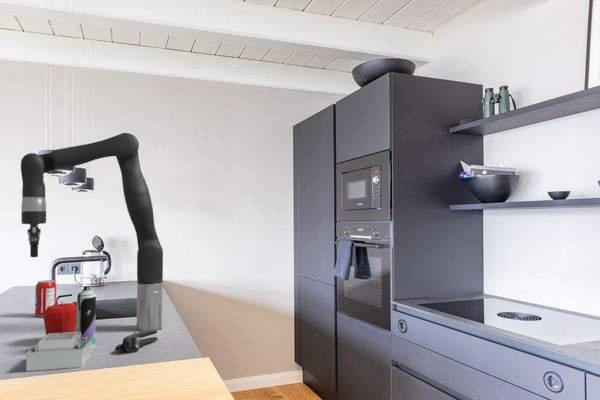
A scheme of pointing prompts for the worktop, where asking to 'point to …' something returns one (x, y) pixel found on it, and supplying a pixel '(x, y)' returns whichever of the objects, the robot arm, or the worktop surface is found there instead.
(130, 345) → the can opener
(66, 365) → the grey square holder
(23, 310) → the worktop surface
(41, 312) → the soda can
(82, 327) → the spray can
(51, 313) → the apple
